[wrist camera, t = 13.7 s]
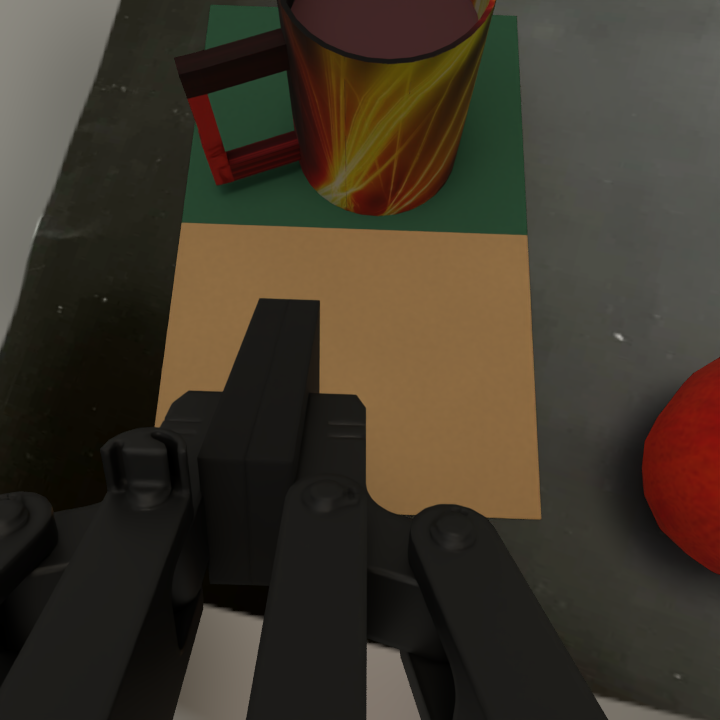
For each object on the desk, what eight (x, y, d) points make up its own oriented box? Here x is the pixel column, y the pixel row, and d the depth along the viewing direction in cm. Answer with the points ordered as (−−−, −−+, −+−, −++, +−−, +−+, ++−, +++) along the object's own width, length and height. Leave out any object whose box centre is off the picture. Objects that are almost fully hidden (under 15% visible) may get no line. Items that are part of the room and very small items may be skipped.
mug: (211, 188, 38) (149, 26, 26) (374, 53, 41) (383, -144, 29) (326, 295, 36) (314, 170, 24) (489, 145, 39) (545, -28, 28)
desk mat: (144, 505, 32) (144, 505, 32) (210, 6, 42) (210, 4, 42) (540, 519, 32) (541, 519, 32) (516, 17, 42) (516, 15, 42)
